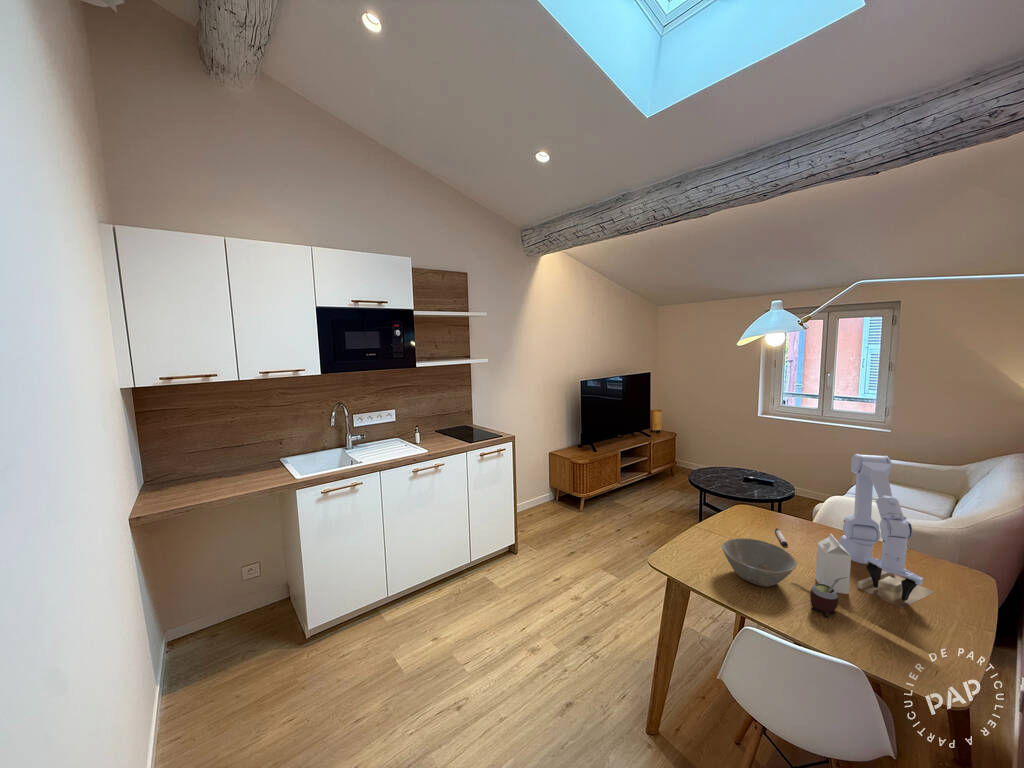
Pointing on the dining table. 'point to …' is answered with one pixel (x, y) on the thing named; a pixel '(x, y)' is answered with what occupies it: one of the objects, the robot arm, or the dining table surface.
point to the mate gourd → (824, 598)
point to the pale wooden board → (914, 596)
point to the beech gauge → (890, 588)
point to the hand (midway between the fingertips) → (890, 593)
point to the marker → (781, 537)
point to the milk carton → (833, 564)
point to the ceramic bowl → (758, 561)
